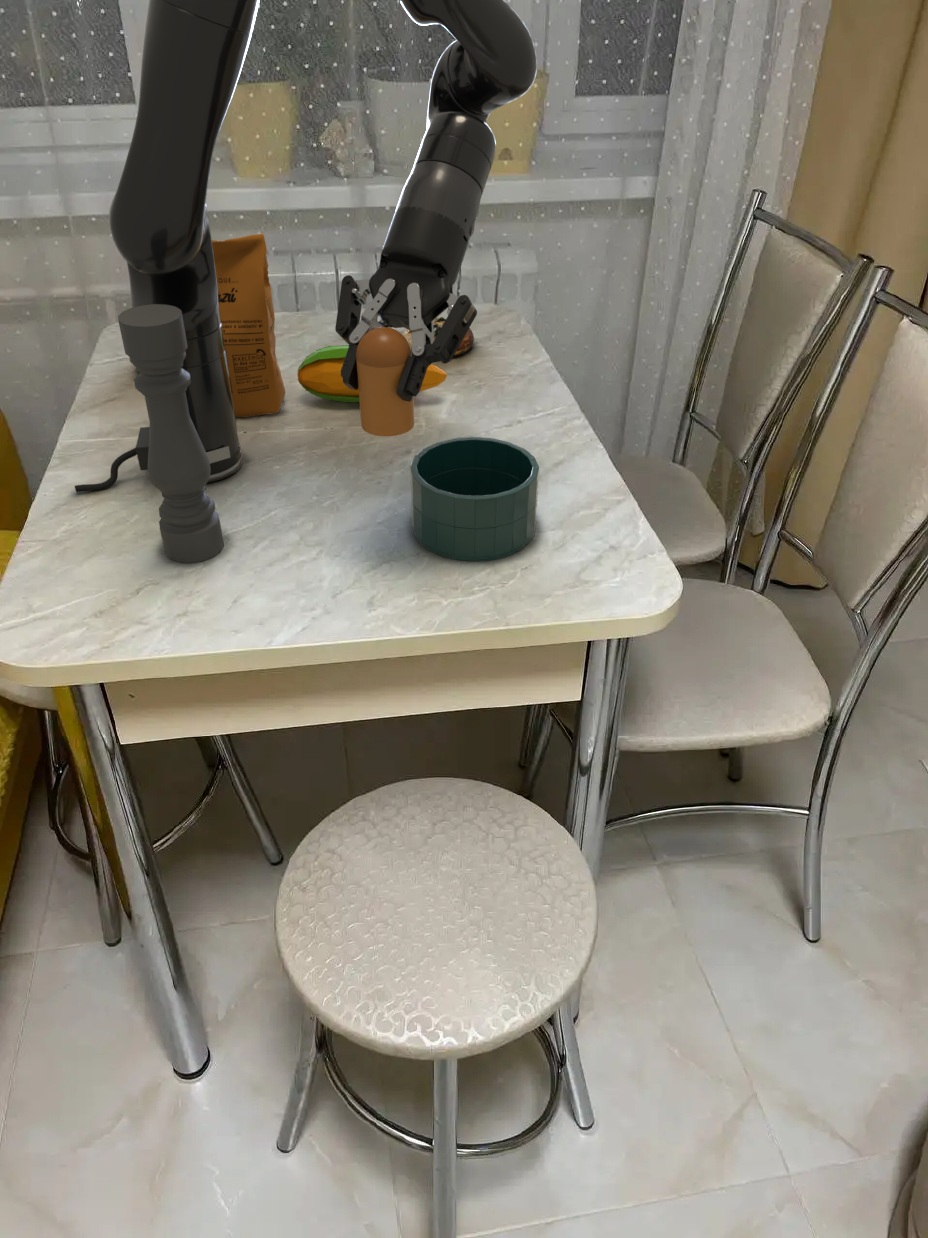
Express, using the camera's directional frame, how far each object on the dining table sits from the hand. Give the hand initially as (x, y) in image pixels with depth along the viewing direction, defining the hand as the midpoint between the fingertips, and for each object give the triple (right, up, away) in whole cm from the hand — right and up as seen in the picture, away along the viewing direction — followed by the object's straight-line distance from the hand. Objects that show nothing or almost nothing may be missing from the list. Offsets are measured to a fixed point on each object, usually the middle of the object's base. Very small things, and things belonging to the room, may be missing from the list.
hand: (376, 391), depth 92 cm
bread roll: (+4, +20, +56) cm, 60 cm away
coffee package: (-22, +8, +40) cm, 46 cm away
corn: (-4, +9, +41) cm, 43 cm away
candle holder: (-20, -14, +12) cm, 27 cm away
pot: (+9, -11, +15) cm, 21 cm away
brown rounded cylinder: (+1, -2, +4) cm, 5 cm away
